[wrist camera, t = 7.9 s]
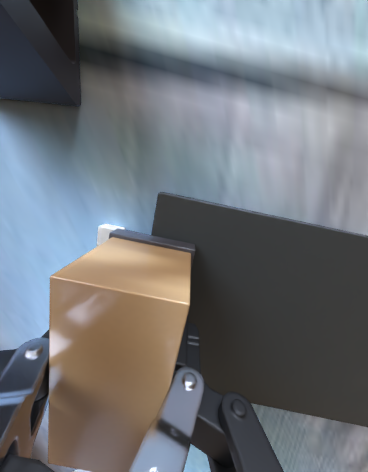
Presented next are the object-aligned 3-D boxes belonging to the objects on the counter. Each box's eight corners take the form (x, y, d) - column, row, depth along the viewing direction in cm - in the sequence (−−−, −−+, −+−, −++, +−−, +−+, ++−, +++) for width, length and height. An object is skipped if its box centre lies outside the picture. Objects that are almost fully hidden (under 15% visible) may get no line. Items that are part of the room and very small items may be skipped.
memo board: (483, 260, 12) (512, 268, 11) (376, 414, 16) (390, 432, 15) (161, 191, 12) (158, 192, 11) (132, 364, 16) (127, 378, 15)
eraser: (195, 243, 12) (198, 300, 6) (167, 365, 14) (150, 486, 8) (117, 227, 12) (42, 269, 6) (103, 352, 14) (43, 465, 8)
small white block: (98, 226, 12) (105, 223, 13) (94, 270, 13) (101, 264, 14) (120, 230, 12) (126, 227, 13) (115, 274, 13) (120, 268, 14)
